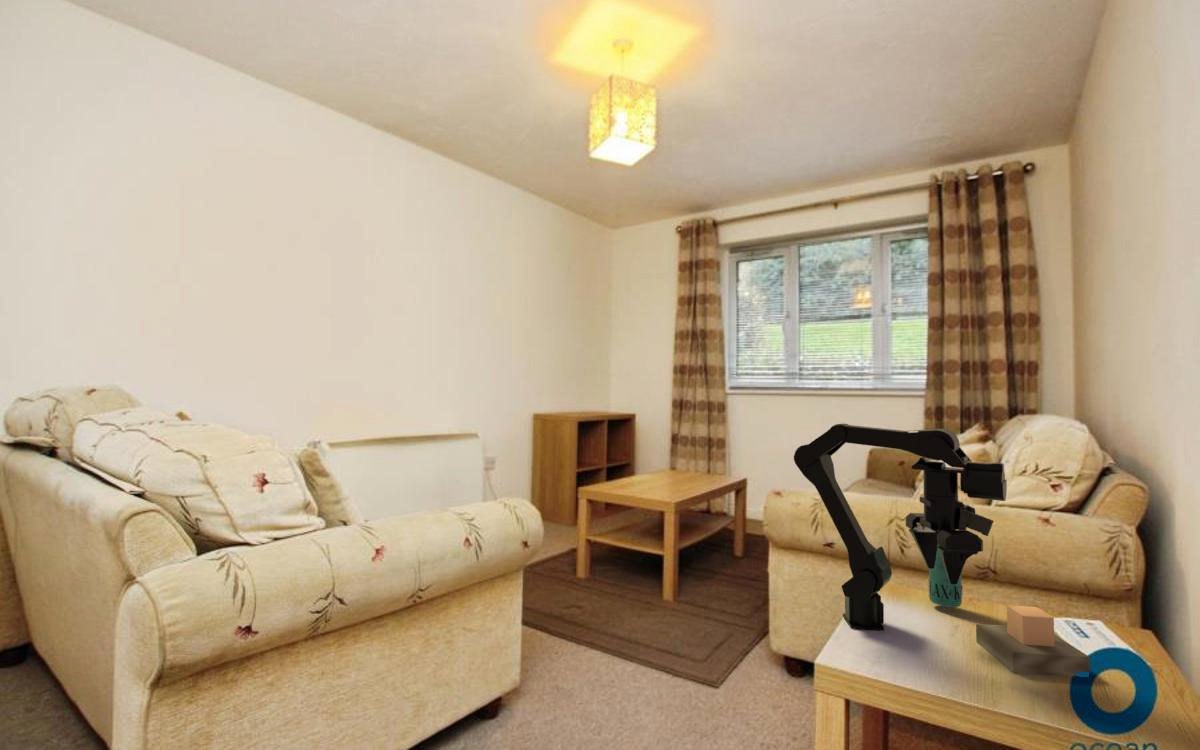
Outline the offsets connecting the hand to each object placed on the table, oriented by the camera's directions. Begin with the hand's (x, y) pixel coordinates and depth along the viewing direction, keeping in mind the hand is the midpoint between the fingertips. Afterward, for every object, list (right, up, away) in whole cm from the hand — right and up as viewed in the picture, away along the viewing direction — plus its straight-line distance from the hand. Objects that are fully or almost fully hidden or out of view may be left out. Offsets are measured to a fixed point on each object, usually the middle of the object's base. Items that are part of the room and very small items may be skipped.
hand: (941, 575), depth 108 cm
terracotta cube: (+13, -9, -6) cm, 17 cm away
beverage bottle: (+11, -14, +17) cm, 25 cm away
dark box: (+12, -13, -6) cm, 19 cm away
